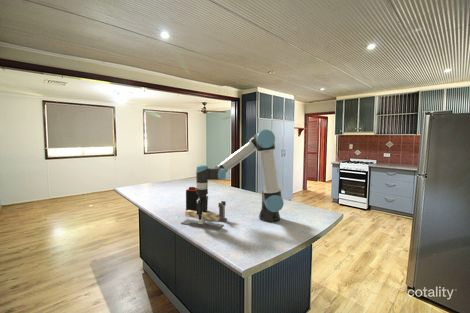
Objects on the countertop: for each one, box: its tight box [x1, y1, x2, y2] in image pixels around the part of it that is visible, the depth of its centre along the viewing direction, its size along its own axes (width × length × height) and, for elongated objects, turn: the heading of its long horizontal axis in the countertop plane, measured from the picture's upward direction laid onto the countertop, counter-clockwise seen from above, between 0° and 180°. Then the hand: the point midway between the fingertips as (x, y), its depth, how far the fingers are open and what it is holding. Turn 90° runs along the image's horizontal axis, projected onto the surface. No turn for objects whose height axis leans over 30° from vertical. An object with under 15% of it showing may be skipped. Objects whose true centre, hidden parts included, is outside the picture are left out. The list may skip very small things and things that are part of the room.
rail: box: [184, 210, 220, 222], centre depth 153 cm, size 24×4×4 cm, turn 70°
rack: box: [206, 200, 228, 223], centre depth 165 cm, size 21×6×13 cm, turn 70°
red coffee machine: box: [185, 186, 208, 211], centre depth 181 cm, size 16×10×20 cm, turn 74°
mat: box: [180, 219, 224, 231], centre depth 153 cm, size 28×8×1 cm, turn 70°
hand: (202, 222), depth 153 cm, fingers closed on rail, 3 cm apart
